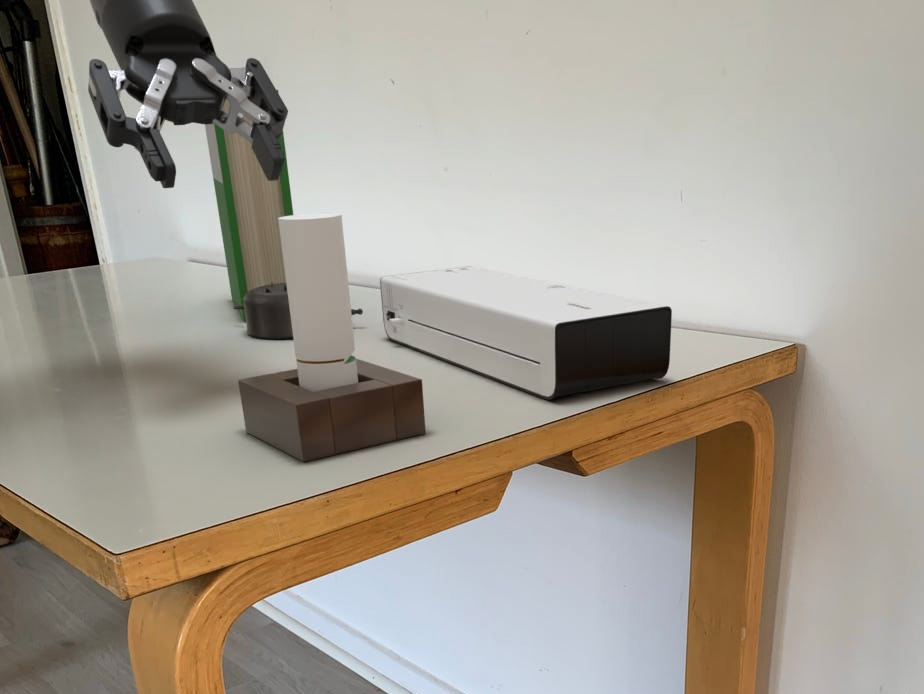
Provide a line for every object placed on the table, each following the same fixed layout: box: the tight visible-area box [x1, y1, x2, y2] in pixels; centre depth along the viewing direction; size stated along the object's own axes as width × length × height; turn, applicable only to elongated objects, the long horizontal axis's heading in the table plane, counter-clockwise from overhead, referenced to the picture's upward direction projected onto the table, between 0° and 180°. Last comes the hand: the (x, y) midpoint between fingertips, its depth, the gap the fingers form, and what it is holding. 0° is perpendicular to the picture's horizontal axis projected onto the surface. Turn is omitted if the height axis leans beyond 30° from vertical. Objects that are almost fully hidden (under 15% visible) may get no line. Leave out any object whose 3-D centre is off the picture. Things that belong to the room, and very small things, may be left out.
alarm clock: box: [232, 282, 364, 340], centre depth 112 cm, size 11×5×16 cm
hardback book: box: [204, 89, 294, 322], centre depth 121 cm, size 18×7×24 cm, turn 17°
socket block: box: [237, 358, 427, 463], centre depth 73 cm, size 10×10×4 cm
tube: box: [278, 212, 358, 392], centre depth 71 cm, size 4×4×15 cm
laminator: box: [379, 265, 673, 401], centre depth 92 cm, size 34×12×6 cm, turn 29°
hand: (225, 176), depth 76 cm, fingers open, 8 cm apart
